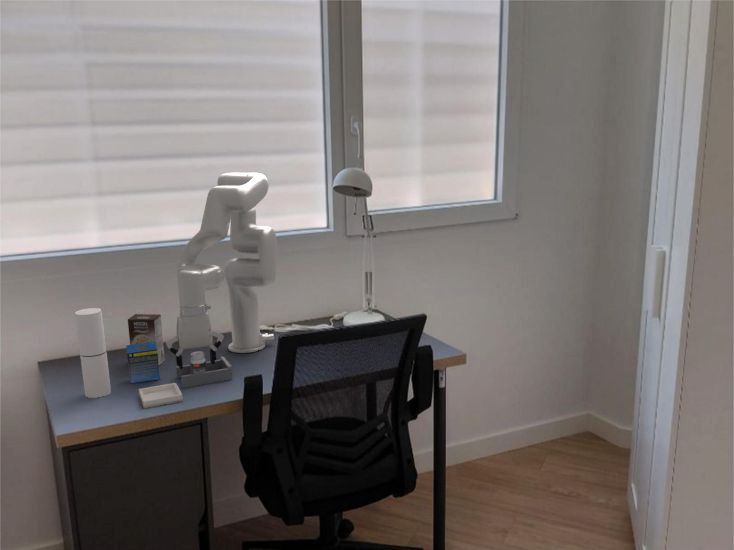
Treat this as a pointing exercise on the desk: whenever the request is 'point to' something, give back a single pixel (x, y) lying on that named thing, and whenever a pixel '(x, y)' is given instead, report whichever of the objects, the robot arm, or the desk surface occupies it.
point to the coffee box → (147, 332)
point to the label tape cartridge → (143, 362)
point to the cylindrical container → (93, 352)
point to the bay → (205, 373)
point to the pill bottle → (198, 362)
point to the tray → (160, 395)
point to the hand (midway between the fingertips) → (196, 365)
